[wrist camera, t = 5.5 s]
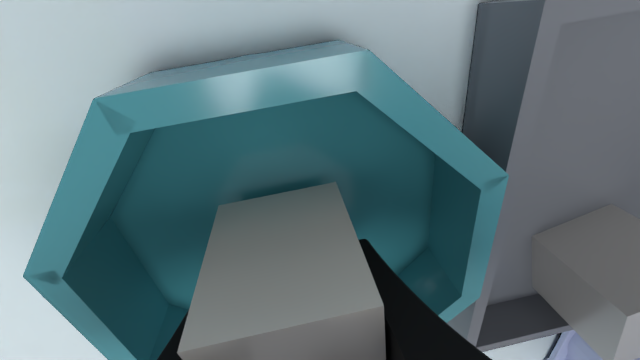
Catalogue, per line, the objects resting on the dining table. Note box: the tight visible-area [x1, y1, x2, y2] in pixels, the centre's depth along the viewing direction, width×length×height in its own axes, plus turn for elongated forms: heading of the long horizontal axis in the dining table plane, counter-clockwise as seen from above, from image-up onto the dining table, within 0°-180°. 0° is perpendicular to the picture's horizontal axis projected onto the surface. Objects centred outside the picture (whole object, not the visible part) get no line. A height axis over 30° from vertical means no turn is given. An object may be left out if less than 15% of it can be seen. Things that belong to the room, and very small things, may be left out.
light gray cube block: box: [532, 204, 640, 360], centre depth 13 cm, size 4×4×4 cm
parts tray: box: [447, 0, 640, 352], centre depth 12 cm, size 16×13×2 cm
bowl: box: [23, 40, 509, 360], centre depth 11 cm, size 14×14×3 cm
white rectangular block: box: [177, 182, 386, 360], centre depth 9 cm, size 5×4×5 cm
